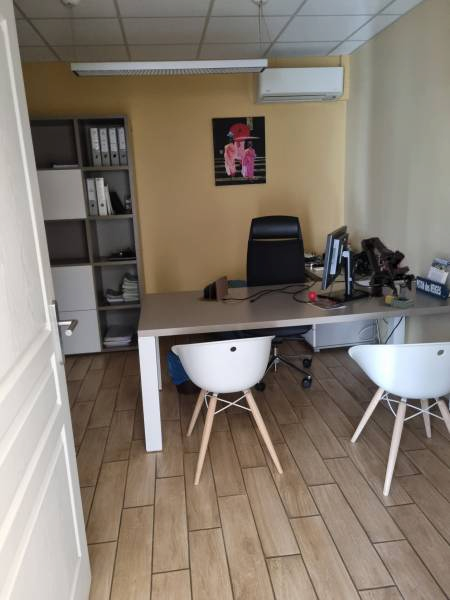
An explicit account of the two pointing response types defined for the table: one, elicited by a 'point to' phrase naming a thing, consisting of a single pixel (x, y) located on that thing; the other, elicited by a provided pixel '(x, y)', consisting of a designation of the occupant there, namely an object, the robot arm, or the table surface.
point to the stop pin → (402, 292)
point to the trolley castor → (395, 292)
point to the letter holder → (216, 290)
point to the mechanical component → (398, 283)
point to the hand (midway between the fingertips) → (403, 291)
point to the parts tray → (402, 303)
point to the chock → (389, 299)
